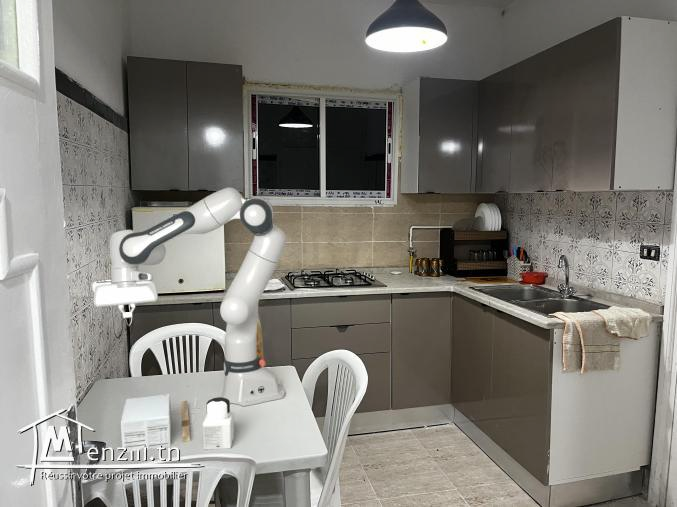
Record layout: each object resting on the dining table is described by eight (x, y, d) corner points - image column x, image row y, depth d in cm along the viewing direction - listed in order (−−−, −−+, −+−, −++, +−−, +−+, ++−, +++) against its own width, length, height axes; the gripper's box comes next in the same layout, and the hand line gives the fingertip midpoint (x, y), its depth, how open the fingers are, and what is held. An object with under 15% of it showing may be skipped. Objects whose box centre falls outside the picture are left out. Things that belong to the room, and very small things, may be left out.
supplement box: (126, 427, 156) (125, 398, 155) (171, 421, 160) (170, 393, 159) (121, 453, 140) (119, 421, 139) (170, 446, 144) (169, 415, 143)
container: (207, 437, 149) (206, 395, 148) (234, 436, 150) (233, 394, 148) (203, 450, 141) (201, 406, 140) (230, 449, 142) (229, 405, 141)
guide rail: (187, 406, 171) (187, 400, 171) (190, 440, 147) (189, 433, 147) (180, 407, 171) (180, 401, 170) (182, 441, 146) (182, 435, 146)
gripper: (90, 279, 165) (92, 321, 163) (156, 274, 171) (159, 314, 170) (92, 280, 171) (95, 321, 169) (156, 275, 177) (159, 314, 176)
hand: (127, 318), depth 170 cm, fingers closed
